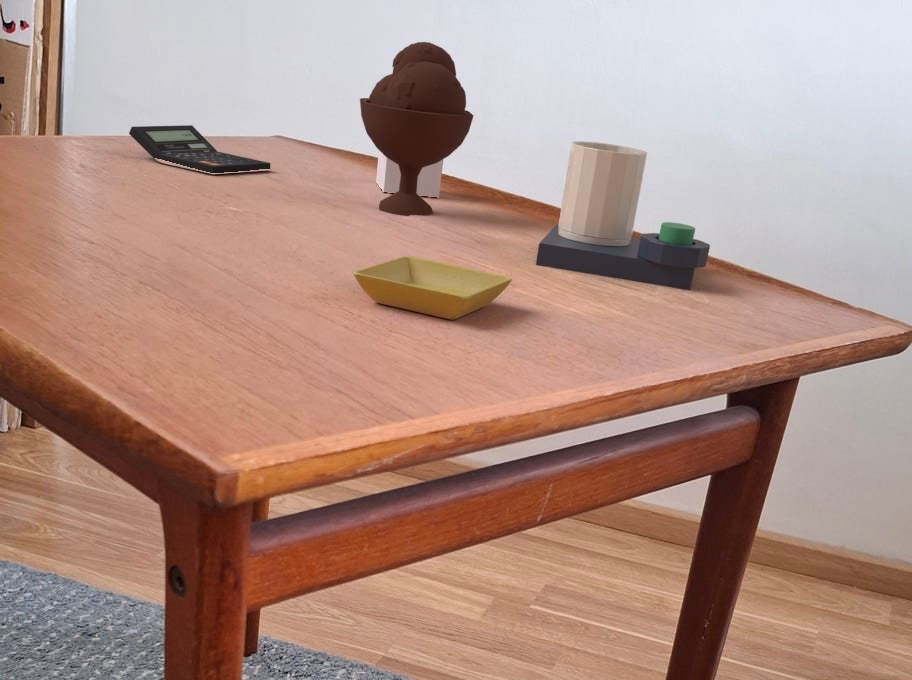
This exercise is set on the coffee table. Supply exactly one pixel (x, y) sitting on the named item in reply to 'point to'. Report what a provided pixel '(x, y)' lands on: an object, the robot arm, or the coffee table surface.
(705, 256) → the scale
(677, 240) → the button
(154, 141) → the calculator
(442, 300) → the yellow shallow tray
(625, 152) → the faceted pencil cup
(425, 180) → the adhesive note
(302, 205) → the coffee table surface
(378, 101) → the ice cream bowl
